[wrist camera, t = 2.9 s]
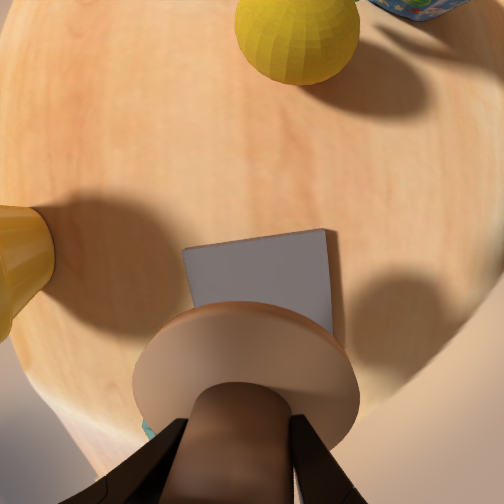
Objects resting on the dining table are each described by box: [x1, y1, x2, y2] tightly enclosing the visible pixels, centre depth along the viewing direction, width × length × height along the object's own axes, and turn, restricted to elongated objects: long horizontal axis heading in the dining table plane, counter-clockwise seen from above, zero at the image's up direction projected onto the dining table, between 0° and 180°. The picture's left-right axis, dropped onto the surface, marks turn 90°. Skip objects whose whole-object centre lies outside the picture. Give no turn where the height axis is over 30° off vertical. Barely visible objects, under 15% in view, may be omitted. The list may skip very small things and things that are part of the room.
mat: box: [182, 228, 333, 336], centre depth 17 cm, size 8×8×1 cm
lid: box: [133, 301, 360, 504], centre depth 7 cm, size 8×8×5 cm
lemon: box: [235, 0, 360, 86], centre depth 10 cm, size 6×6×8 cm
